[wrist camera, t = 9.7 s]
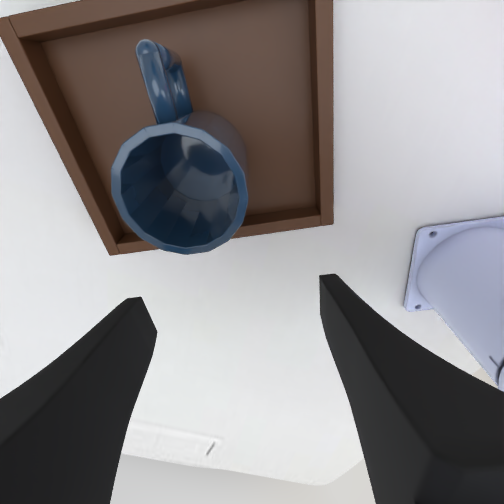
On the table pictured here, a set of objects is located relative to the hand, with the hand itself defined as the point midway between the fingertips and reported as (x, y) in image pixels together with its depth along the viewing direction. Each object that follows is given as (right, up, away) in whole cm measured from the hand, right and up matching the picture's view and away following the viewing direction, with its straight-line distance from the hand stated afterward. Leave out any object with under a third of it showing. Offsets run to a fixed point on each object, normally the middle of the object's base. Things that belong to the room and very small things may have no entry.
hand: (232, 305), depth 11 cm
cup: (-3, +9, +5) cm, 11 cm away
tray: (-2, +9, +6) cm, 11 cm away
